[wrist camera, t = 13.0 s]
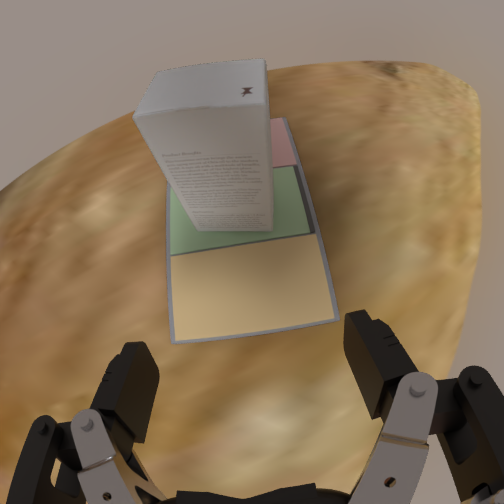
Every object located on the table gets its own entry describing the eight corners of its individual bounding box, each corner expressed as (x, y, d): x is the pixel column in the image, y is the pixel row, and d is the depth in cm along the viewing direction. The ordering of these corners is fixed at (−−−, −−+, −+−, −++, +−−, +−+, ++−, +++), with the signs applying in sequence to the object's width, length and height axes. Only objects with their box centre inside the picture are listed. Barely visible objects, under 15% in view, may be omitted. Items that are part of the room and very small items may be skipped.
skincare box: (274, 186, 22) (269, 56, 11) (273, 233, 21) (269, 103, 9) (201, 187, 23) (155, 69, 12) (194, 233, 21) (128, 118, 10)
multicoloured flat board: (173, 344, 19) (170, 343, 18) (171, 140, 26) (169, 135, 26) (338, 320, 19) (340, 319, 18) (285, 120, 26) (285, 115, 25)
